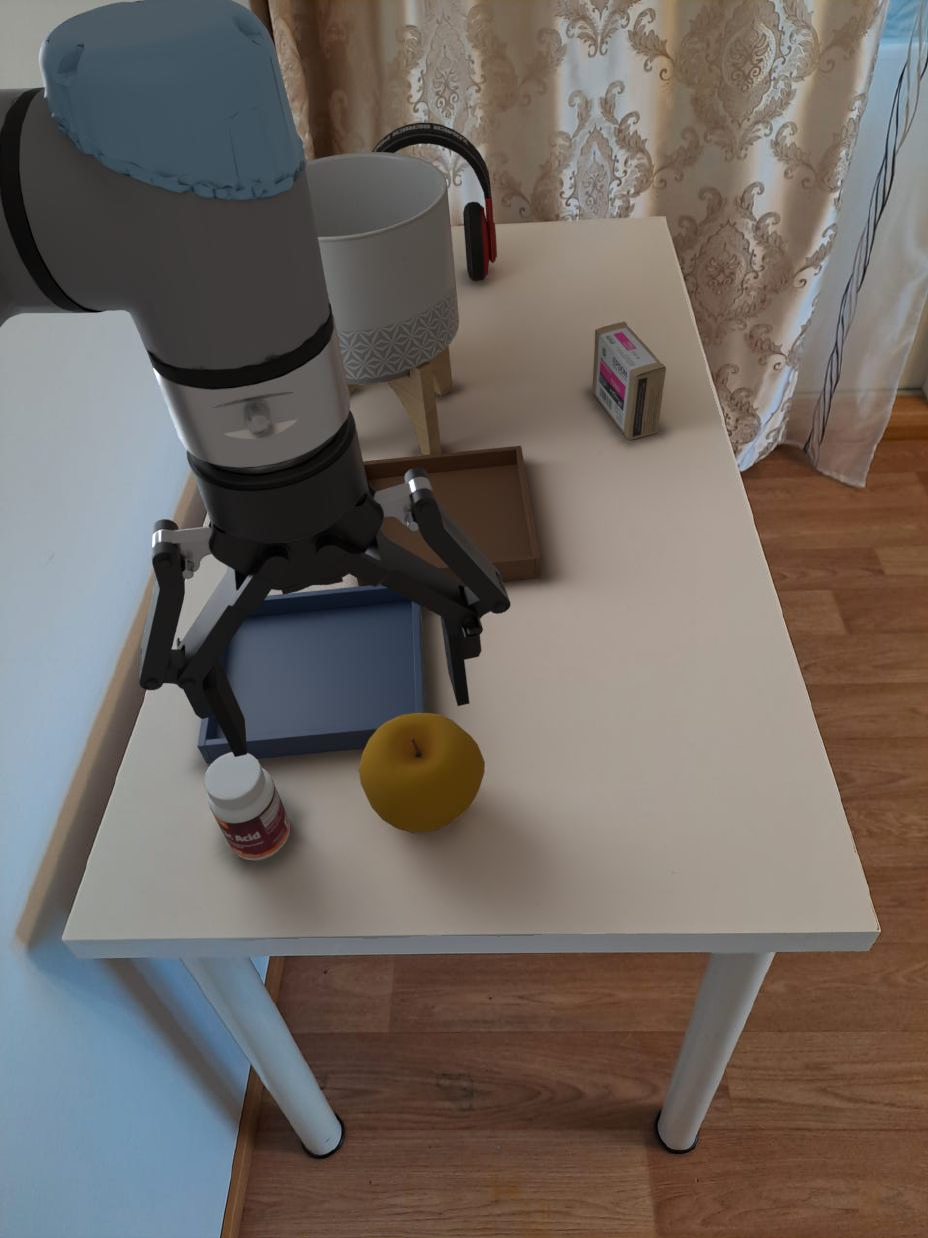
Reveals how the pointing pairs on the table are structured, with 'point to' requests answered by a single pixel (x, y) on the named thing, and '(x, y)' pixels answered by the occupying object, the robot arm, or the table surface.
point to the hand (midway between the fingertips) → (350, 713)
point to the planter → (389, 275)
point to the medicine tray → (471, 506)
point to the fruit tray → (321, 671)
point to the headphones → (475, 224)
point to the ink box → (628, 380)
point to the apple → (421, 771)
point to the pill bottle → (246, 806)
